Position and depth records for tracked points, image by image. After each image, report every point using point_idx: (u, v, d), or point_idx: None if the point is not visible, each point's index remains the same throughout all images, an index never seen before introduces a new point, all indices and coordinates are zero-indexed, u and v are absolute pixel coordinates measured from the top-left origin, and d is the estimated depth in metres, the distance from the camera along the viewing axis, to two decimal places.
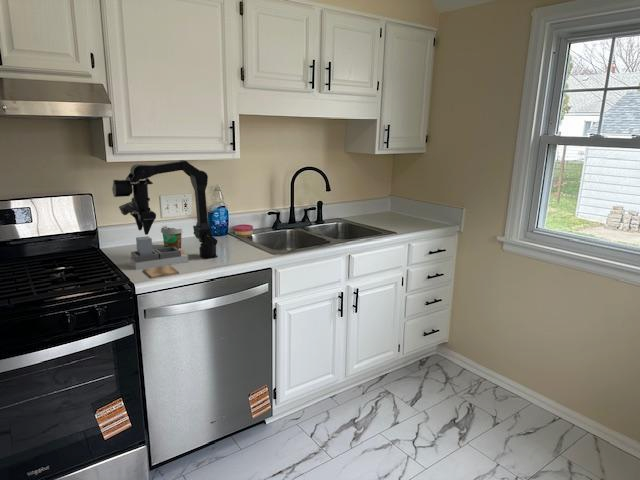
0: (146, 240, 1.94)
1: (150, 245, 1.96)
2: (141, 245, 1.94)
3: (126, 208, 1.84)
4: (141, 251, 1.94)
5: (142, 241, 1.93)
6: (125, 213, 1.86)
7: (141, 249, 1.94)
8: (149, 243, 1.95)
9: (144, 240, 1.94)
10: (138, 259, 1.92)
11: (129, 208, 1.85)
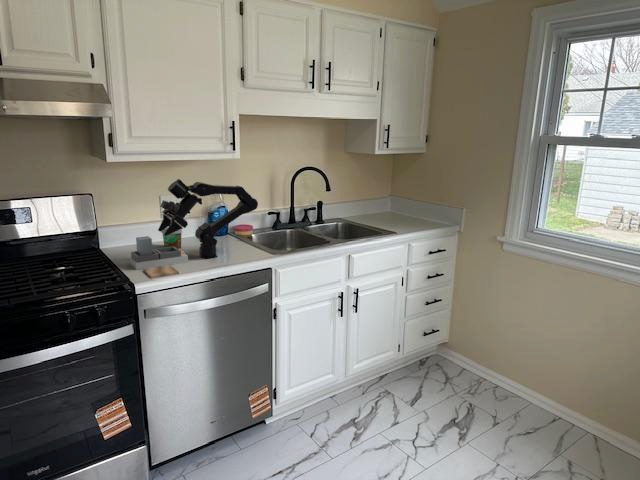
0: (146, 240, 1.94)
1: (150, 245, 1.96)
2: (141, 245, 1.94)
3: (170, 204, 1.95)
4: (141, 251, 1.94)
5: (142, 241, 1.93)
6: (164, 207, 1.96)
7: (141, 249, 1.94)
8: (149, 243, 1.95)
9: (144, 240, 1.94)
10: (138, 259, 1.92)
11: (172, 206, 1.95)
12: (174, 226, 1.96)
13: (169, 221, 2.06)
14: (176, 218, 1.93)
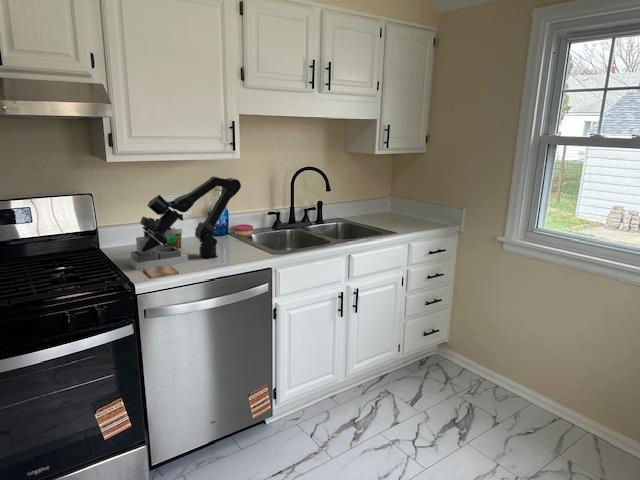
0: (146, 240, 1.94)
1: None
2: (141, 245, 1.94)
3: (149, 220, 1.92)
4: (141, 251, 1.94)
5: (142, 241, 1.93)
6: (144, 224, 1.93)
7: (141, 249, 1.94)
8: None
9: (144, 240, 1.94)
10: (138, 259, 1.92)
11: (151, 222, 1.92)
12: (152, 242, 1.95)
13: None
14: (155, 235, 1.89)
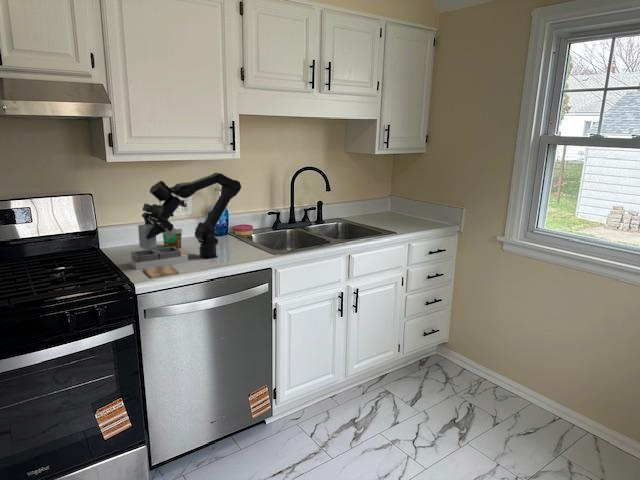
0: (150, 227, 1.89)
1: None
2: (145, 232, 1.88)
3: (154, 207, 1.87)
4: (145, 239, 1.89)
5: (146, 228, 1.88)
6: (148, 210, 1.88)
7: (145, 237, 1.89)
8: None
9: (148, 227, 1.89)
10: (138, 259, 1.92)
11: (156, 209, 1.88)
12: (157, 229, 1.90)
13: None
14: (162, 221, 1.85)
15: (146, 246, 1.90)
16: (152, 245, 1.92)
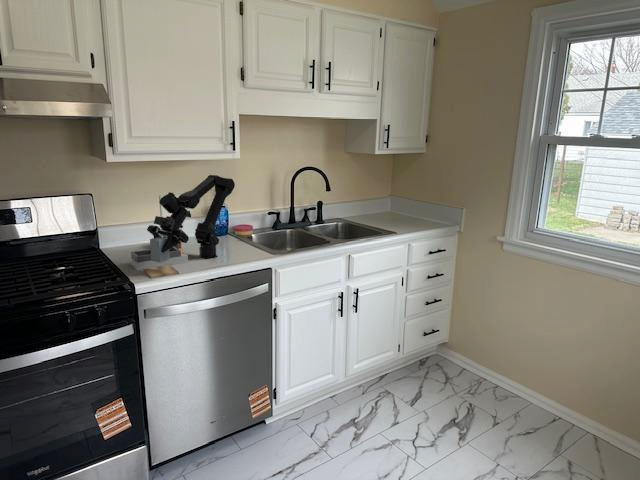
0: (164, 240, 1.86)
1: None
2: (160, 246, 1.85)
3: (169, 219, 1.84)
4: (160, 252, 1.85)
5: (161, 241, 1.85)
6: (162, 223, 1.84)
7: (160, 250, 1.85)
8: None
9: (162, 240, 1.85)
10: (138, 259, 1.92)
11: (170, 221, 1.85)
12: (171, 241, 1.87)
13: None
14: (180, 233, 1.84)
15: (161, 260, 1.86)
16: (166, 258, 1.88)
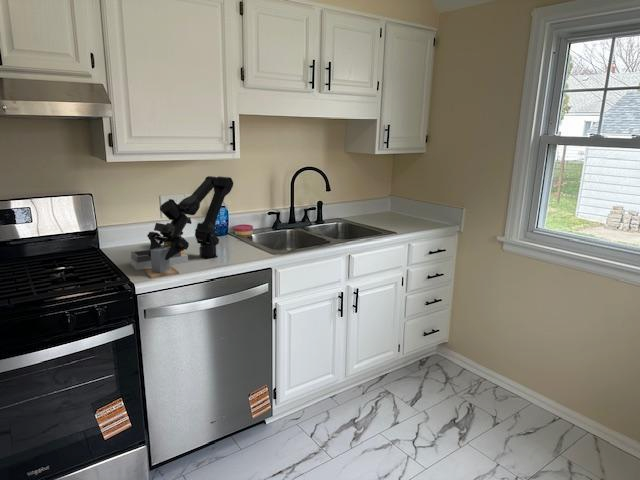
0: (164, 251, 1.87)
1: None
2: (161, 257, 1.86)
3: (169, 226, 1.85)
4: (161, 263, 1.86)
5: (161, 252, 1.86)
6: (162, 230, 1.85)
7: (161, 261, 1.86)
8: None
9: (163, 251, 1.86)
10: (138, 259, 1.92)
11: (170, 228, 1.86)
12: (174, 249, 1.87)
13: (157, 244, 1.93)
14: (180, 240, 1.85)
15: (161, 270, 1.87)
16: (166, 268, 1.89)
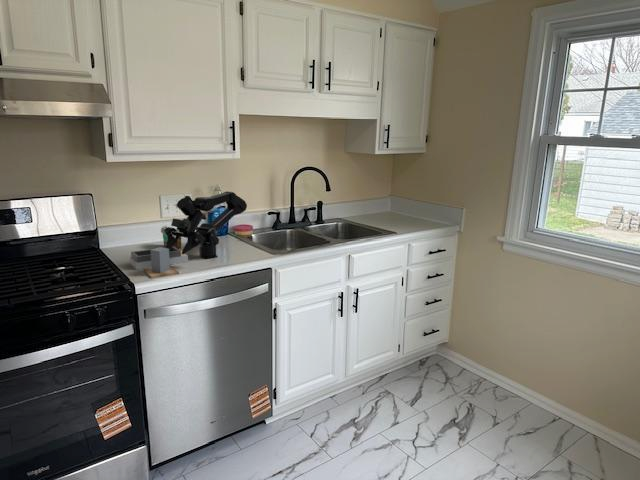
0: (164, 251, 1.87)
1: (168, 256, 1.89)
2: (161, 257, 1.86)
3: (186, 221, 1.93)
4: (161, 263, 1.86)
5: (161, 252, 1.86)
6: (179, 225, 1.92)
7: (161, 261, 1.86)
8: (167, 254, 1.88)
9: (163, 251, 1.86)
10: (138, 259, 1.92)
11: (187, 223, 1.93)
12: (191, 243, 1.95)
13: (174, 239, 2.01)
14: (196, 235, 1.92)
15: (161, 270, 1.87)
16: (166, 268, 1.89)
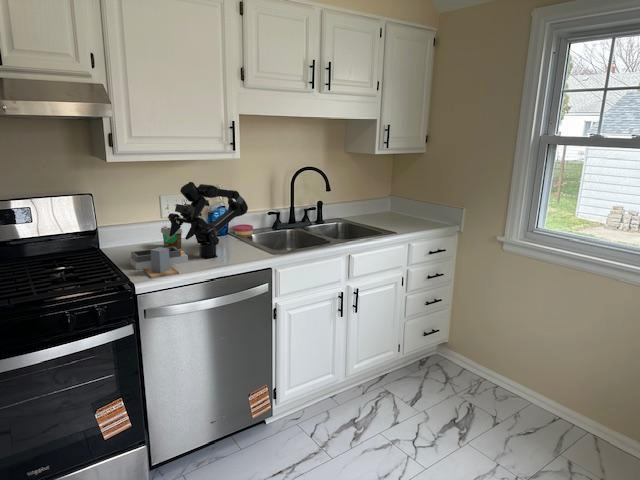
0: (164, 251, 1.87)
1: (168, 256, 1.89)
2: (161, 257, 1.86)
3: (189, 207, 1.93)
4: (161, 263, 1.86)
5: (161, 252, 1.86)
6: (183, 211, 1.93)
7: (161, 261, 1.86)
8: (167, 254, 1.88)
9: (163, 251, 1.86)
10: (138, 259, 1.92)
11: (191, 209, 1.94)
12: (194, 229, 1.96)
13: (177, 225, 2.02)
14: (200, 221, 1.93)
15: (161, 270, 1.87)
16: (166, 268, 1.89)
